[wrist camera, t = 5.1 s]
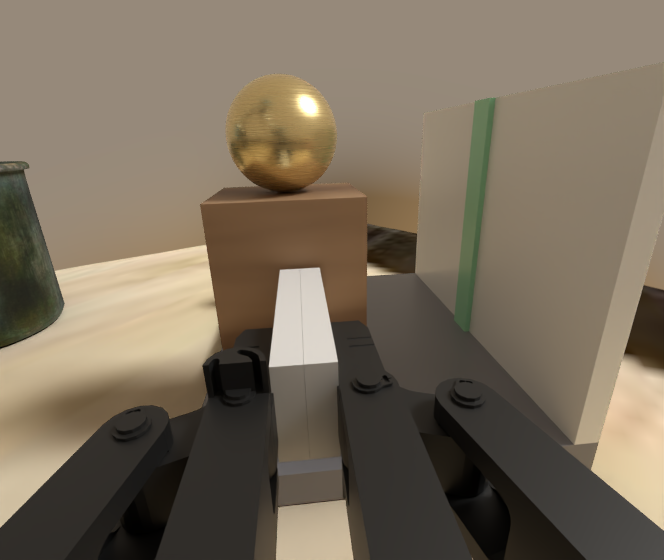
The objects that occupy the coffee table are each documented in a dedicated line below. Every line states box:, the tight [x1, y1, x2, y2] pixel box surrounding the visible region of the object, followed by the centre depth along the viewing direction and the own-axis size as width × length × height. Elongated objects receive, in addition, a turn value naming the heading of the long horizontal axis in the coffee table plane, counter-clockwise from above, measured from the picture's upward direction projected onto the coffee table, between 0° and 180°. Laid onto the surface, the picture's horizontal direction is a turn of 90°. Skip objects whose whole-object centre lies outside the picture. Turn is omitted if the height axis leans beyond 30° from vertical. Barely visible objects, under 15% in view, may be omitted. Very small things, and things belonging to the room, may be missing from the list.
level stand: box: [202, 62, 664, 506], centre depth 21 cm, size 20×16×14 cm
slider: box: [200, 74, 367, 350], centre depth 17 cm, size 5×6×13 cm
